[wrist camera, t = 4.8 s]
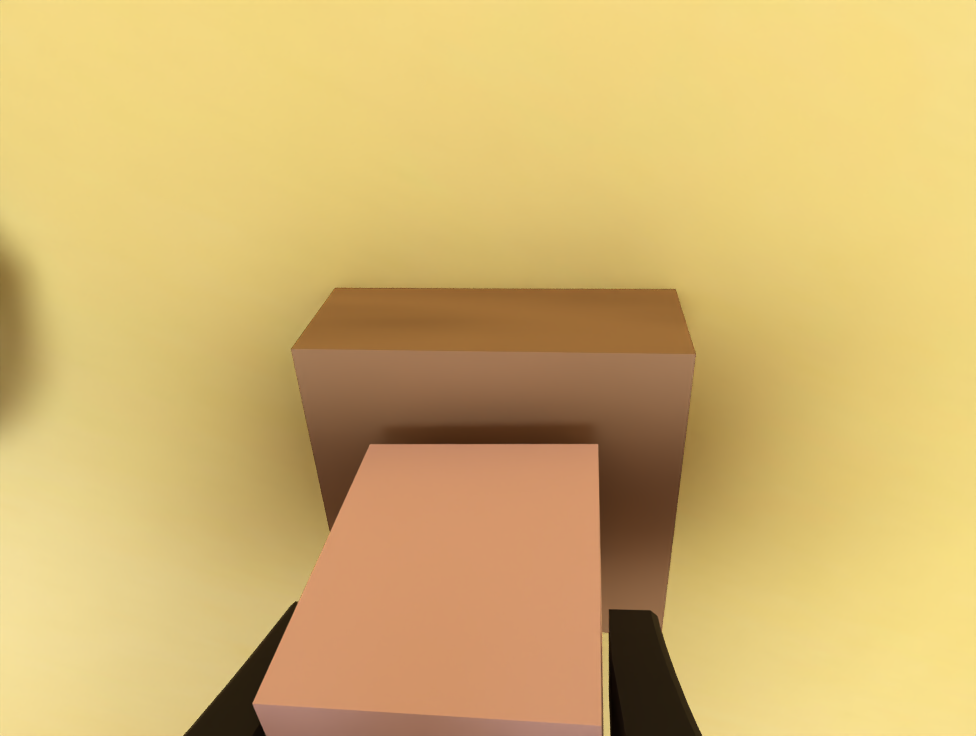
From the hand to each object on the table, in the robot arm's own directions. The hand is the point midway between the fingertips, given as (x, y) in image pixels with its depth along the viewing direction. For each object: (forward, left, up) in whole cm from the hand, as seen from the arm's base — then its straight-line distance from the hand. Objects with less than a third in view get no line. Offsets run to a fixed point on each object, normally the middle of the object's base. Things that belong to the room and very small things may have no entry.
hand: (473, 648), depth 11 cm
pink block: (0, 0, -2) cm, 3 cm away
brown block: (0, 0, -6) cm, 6 cm away
